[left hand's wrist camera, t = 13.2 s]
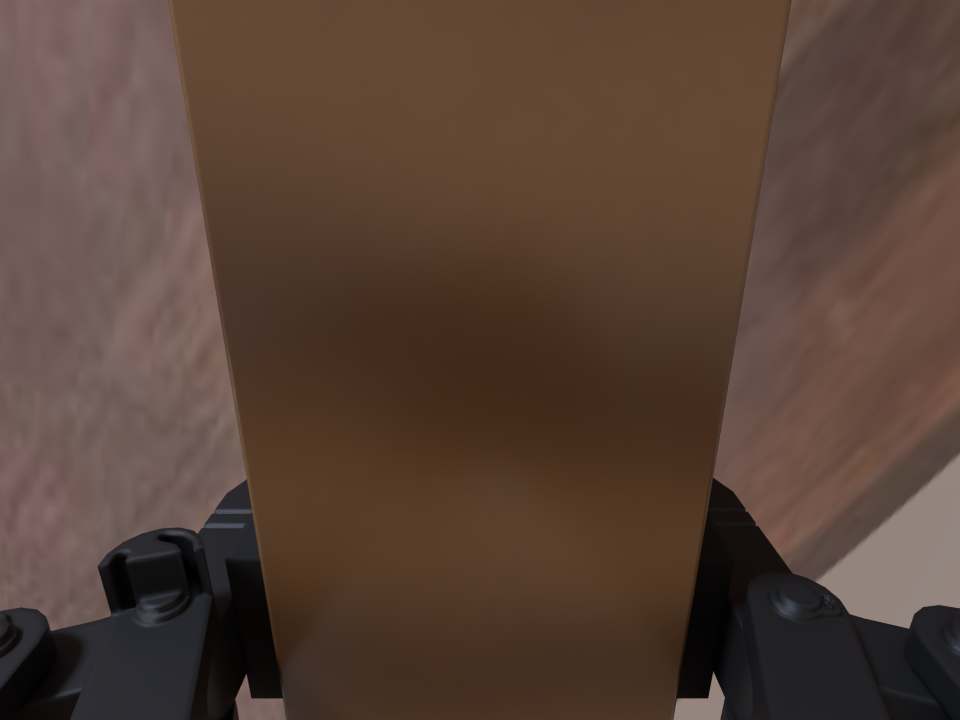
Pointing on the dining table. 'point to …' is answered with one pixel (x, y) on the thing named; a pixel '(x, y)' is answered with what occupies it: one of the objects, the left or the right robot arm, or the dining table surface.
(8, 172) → the dining table surface
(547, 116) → the bar
